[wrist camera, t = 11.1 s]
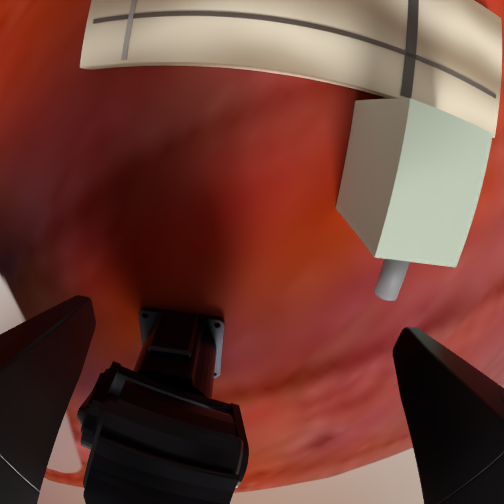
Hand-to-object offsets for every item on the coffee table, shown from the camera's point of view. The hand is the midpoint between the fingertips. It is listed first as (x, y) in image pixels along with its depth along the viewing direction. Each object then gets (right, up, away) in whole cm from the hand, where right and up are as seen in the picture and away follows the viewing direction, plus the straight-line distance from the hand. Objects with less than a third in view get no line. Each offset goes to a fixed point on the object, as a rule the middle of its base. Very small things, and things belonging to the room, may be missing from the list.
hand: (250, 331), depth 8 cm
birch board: (+4, +17, +5) cm, 18 cm away
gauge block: (+8, +6, +10) cm, 15 cm away
